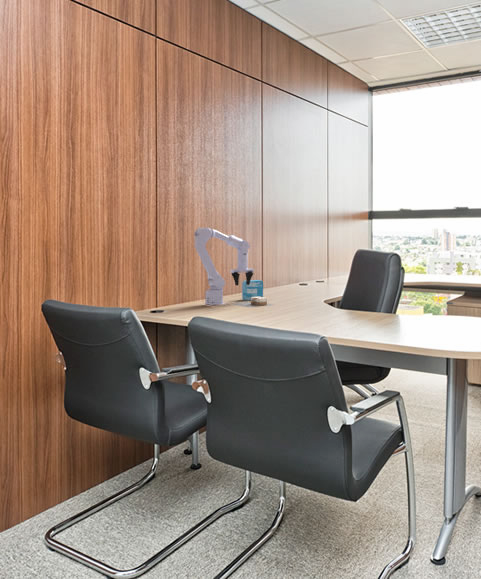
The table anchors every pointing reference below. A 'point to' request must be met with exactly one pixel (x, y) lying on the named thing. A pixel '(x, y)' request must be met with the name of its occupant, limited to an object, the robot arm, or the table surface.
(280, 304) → the table surface
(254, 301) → the metal box
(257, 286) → the data package
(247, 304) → the desk mat
